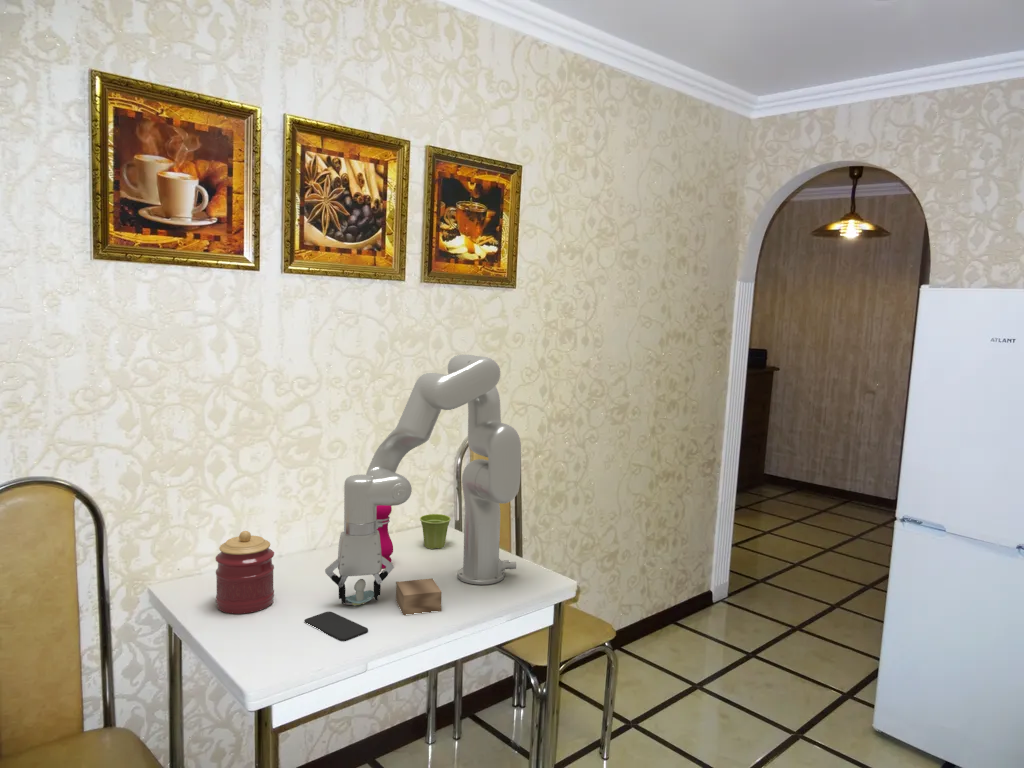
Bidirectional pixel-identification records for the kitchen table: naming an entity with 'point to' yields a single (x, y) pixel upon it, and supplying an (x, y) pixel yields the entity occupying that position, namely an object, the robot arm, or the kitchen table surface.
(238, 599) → the canister
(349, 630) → the phone
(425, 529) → the plant pot
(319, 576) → the kitchen table surface
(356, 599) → the pacifier
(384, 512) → the pepper mill
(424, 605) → the block
